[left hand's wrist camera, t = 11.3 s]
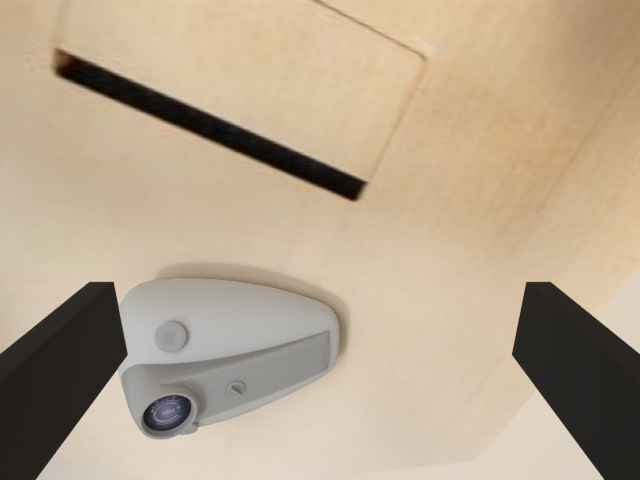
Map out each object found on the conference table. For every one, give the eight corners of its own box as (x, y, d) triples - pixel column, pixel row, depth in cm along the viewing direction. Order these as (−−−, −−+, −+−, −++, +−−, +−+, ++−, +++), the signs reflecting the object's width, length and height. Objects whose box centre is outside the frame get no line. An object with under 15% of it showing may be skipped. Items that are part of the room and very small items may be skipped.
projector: (245, 432, 53) (218, 552, 39) (96, 333, 47) (4, 431, 34) (361, 327, 47) (378, 423, 33) (207, 201, 42) (152, 253, 28)
